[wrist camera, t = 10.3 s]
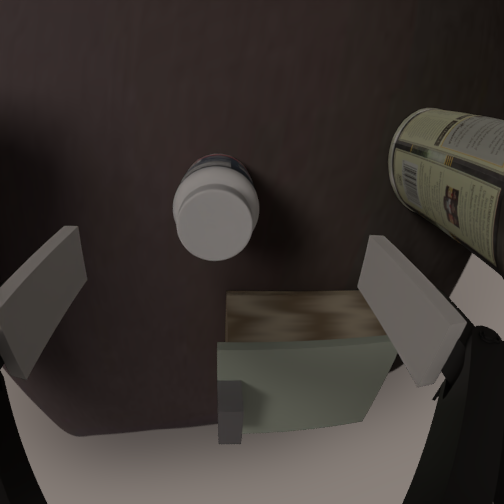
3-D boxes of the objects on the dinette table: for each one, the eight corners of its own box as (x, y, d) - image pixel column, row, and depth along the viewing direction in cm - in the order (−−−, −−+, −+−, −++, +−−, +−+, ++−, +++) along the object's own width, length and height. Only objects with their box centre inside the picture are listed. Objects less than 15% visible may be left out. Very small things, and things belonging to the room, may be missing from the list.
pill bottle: (255, 212, 25) (271, 265, 17) (191, 223, 25) (178, 280, 17) (246, 147, 23) (258, 169, 15) (178, 159, 23) (153, 189, 15)
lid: (218, 427, 27) (219, 460, 23) (217, 342, 22) (217, 382, 18) (359, 415, 28) (370, 443, 25) (399, 333, 23) (419, 364, 20)
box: (224, 372, 33) (226, 424, 27) (226, 290, 28) (228, 343, 22) (343, 367, 34) (362, 412, 28) (369, 290, 30) (399, 334, 23)
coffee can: (482, 171, 25) (585, 223, 12) (419, 234, 27) (514, 319, 15) (439, 85, 21) (567, 100, 8) (365, 151, 24) (485, 208, 11)
